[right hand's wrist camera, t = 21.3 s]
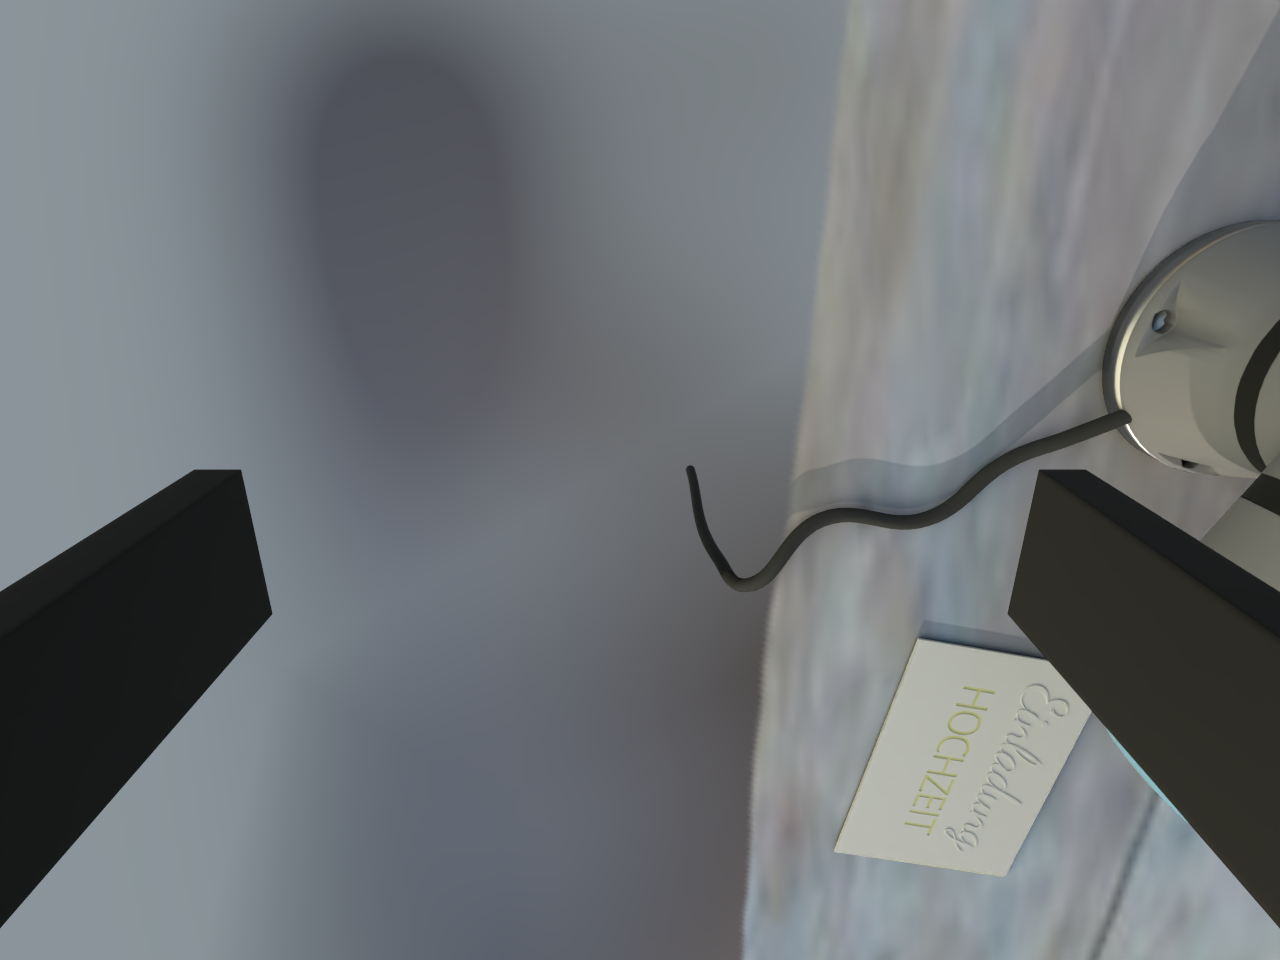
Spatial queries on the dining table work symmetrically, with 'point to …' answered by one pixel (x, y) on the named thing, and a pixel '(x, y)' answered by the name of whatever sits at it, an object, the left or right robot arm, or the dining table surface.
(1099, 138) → the dining table surface
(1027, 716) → the invitation card
